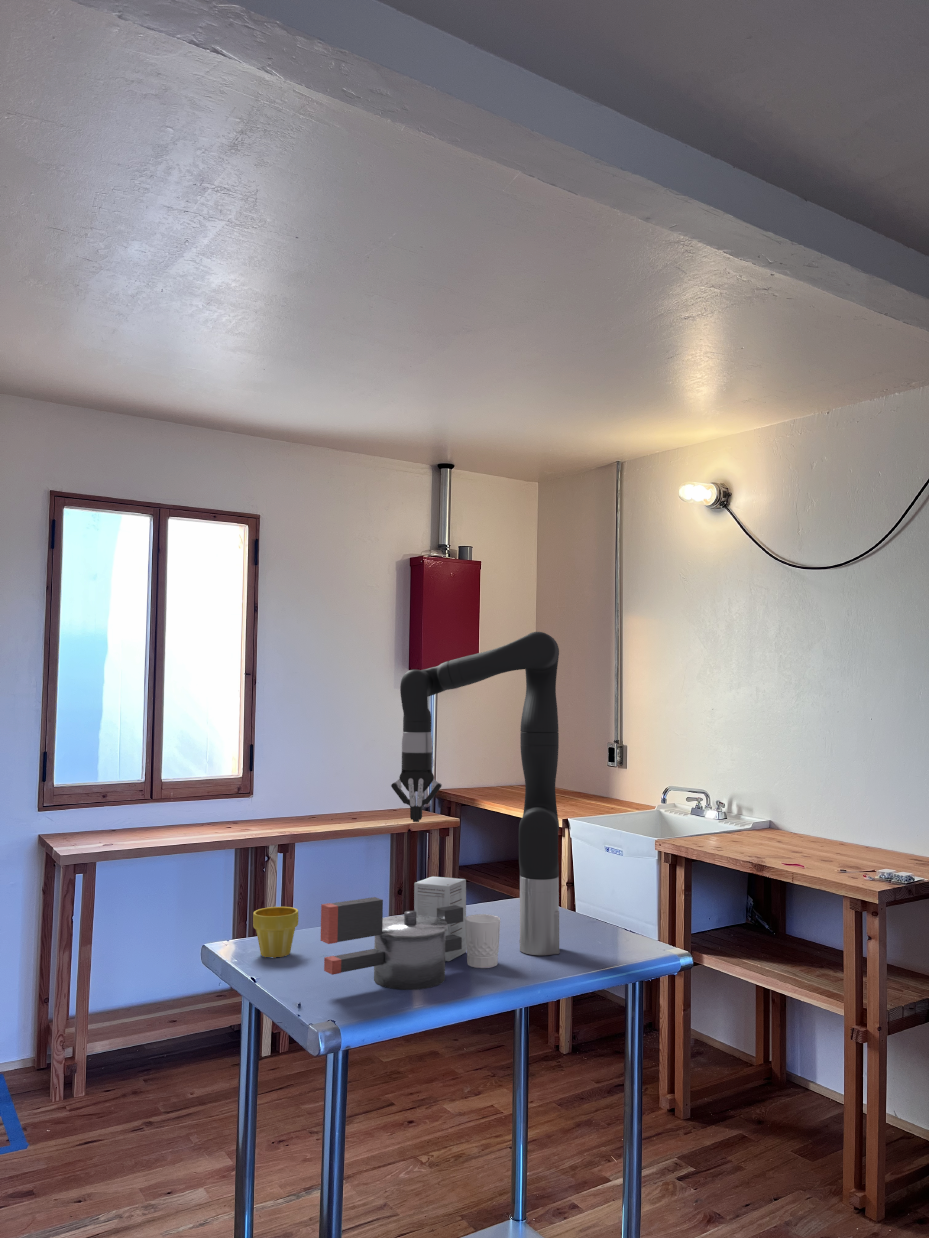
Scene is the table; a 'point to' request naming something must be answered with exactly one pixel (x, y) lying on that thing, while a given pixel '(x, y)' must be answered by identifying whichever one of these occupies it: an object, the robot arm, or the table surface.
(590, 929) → the table surface
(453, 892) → the supplement box
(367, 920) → the lid
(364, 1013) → the table surface
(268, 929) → the plant pot
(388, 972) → the pot
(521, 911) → the robot arm
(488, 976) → the table surface
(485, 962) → the white cup
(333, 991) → the table surface
